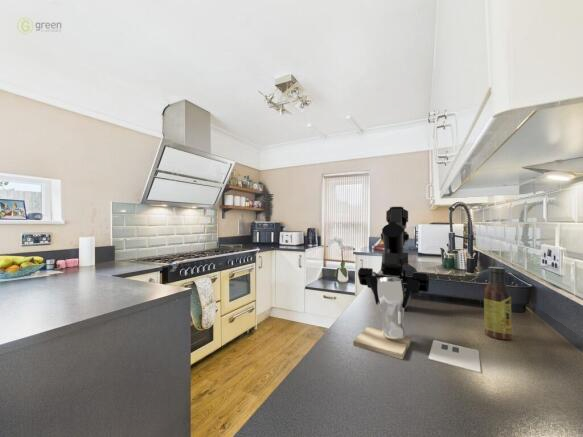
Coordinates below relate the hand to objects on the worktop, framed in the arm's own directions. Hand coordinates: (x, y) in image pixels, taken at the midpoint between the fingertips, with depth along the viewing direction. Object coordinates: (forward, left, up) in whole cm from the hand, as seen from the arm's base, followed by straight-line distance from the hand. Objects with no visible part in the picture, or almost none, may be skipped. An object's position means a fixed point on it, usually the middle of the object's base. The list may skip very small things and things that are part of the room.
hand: (390, 305), depth 68 cm
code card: (-3, +14, -10) cm, 18 cm away
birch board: (+1, -2, -10) cm, 10 cm away
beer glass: (-2, +1, -8) cm, 8 cm away
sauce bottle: (-24, +24, -10) cm, 36 cm away
